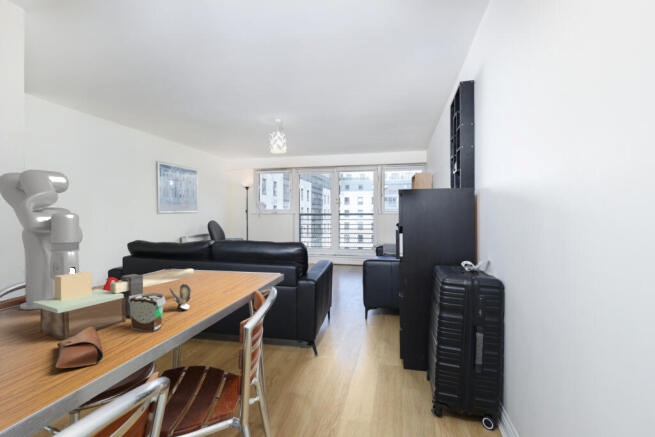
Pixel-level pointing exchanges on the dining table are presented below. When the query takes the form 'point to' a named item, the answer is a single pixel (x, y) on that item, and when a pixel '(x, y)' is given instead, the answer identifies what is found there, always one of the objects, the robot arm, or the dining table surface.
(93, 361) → the sunglasses case
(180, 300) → the eagle figurine
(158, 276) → the cream wooden bar
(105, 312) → the toolbox
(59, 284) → the lid
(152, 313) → the food container
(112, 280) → the tracker holder
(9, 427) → the dining table surface
